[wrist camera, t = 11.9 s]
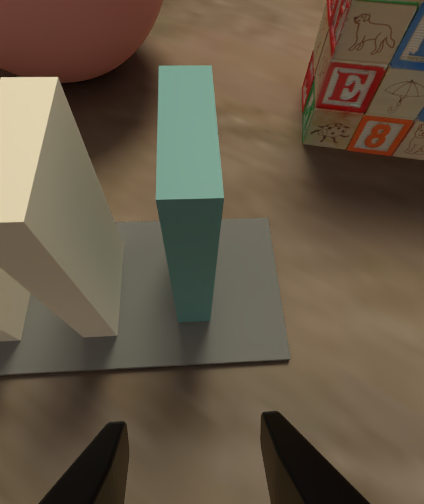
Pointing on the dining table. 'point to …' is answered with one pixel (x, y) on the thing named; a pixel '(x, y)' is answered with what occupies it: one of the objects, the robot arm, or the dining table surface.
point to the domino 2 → (55, 209)
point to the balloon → (72, 36)
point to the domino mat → (167, 312)
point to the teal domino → (189, 186)
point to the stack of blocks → (367, 79)
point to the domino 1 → (12, 307)
